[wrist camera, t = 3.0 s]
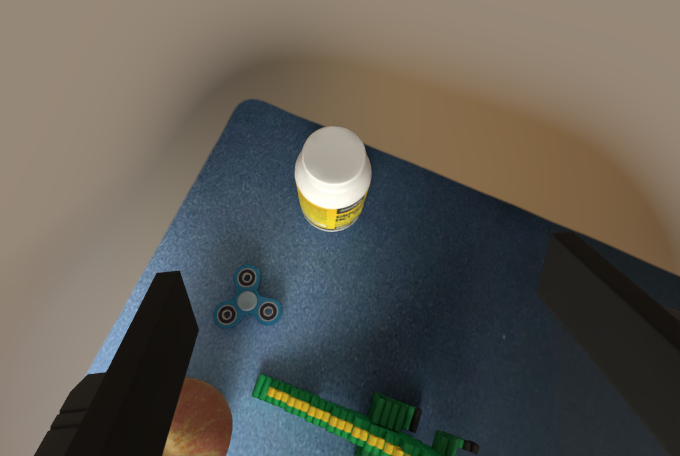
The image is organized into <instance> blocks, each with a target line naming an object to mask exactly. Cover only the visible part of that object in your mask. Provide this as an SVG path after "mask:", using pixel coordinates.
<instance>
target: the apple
mask: <svg viewBox="0 0 680 456" xmlns="http://www.w3.org/2000/svg"><path fill="white" fill-rule="evenodd" d="M231 434H232V415H231V411H230V408H229V405H228V403H227V401H226V399H225V397H224V396H223V394H222V393H221V392H220V391H219V390H218V389H216V388H215V387H213V386H212V385H210V384H208V383H207V382H204V381H202V380H199V379H196V378H191V377H185V379H184V383H183V386H182V390H181V393H180V396H179V400H178V403H177V407H176V410H175V414H174V417H173V421H172V424H171V427H170V431H169V434H168V438H167V441H166V445H165V448H164V452H163V455H162V456H226V454H227V451H228V448H229V444H230V440H231Z"/></svg>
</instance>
